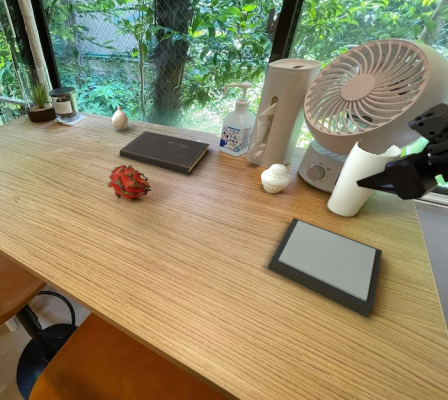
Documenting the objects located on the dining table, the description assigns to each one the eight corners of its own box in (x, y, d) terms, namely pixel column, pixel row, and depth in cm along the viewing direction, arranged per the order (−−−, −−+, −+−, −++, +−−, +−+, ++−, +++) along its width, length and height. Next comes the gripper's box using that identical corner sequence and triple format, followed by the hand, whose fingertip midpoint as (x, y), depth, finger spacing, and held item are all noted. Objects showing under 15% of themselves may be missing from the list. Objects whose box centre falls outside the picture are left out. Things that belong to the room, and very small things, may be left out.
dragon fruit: (111, 189, 70) (148, 209, 65) (94, 189, 62) (134, 211, 57) (123, 160, 68) (162, 178, 63) (107, 156, 60) (150, 176, 56)
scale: (376, 257, 45) (384, 248, 44) (365, 317, 38) (374, 308, 36) (290, 224, 53) (294, 215, 52) (267, 268, 45) (270, 259, 44)
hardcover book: (145, 136, 90) (145, 130, 89) (208, 150, 79) (209, 143, 78) (119, 157, 80) (119, 150, 79) (187, 175, 70) (188, 168, 68)
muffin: (258, 180, 66) (266, 156, 61) (285, 184, 63) (295, 160, 59) (256, 194, 61) (264, 169, 57) (285, 199, 59) (295, 174, 55)
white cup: (325, 216, 54) (360, 154, 45) (319, 197, 59) (350, 137, 49) (364, 223, 52) (410, 159, 42) (355, 202, 57) (395, 141, 47)
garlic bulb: (132, 126, 98) (130, 105, 93) (123, 133, 94) (121, 111, 89) (117, 124, 101) (115, 104, 96) (108, 130, 97) (106, 109, 92)
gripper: (514, 78, 37) (382, 125, 52) (450, 106, 31) (322, 150, 46) (549, 148, 36) (405, 176, 51) (490, 190, 30) (348, 208, 45)
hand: (372, 176), depth 48 cm, fingers open, 9 cm apart
